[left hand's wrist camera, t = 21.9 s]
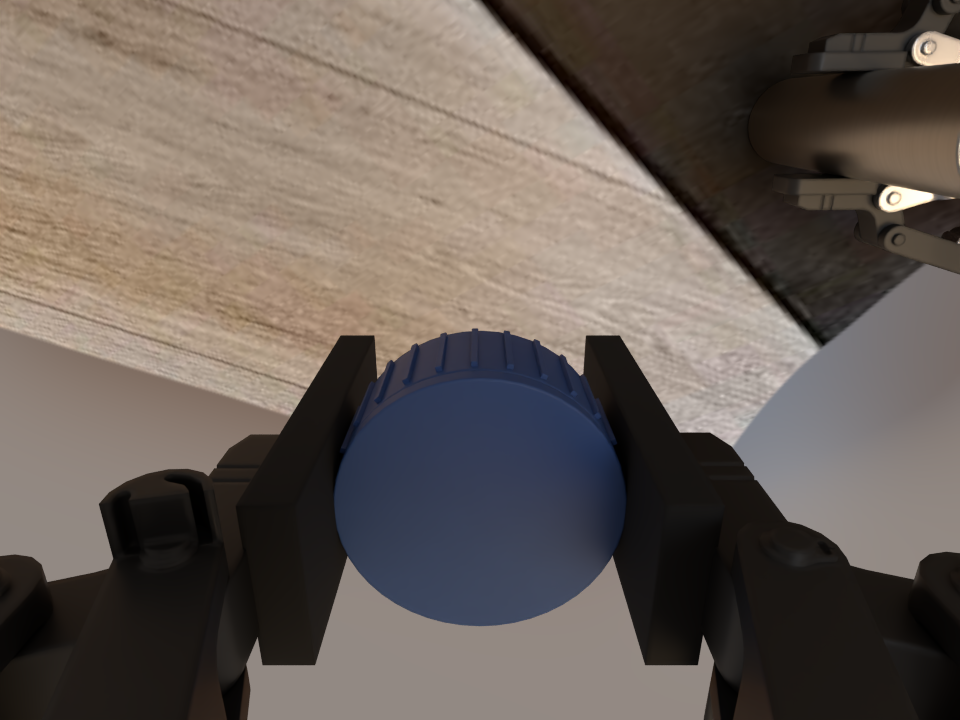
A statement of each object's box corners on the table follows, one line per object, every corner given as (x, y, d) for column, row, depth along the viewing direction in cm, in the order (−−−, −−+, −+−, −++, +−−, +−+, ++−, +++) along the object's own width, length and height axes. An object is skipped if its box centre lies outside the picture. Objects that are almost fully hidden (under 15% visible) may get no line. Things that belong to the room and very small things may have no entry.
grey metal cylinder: (767, 68, 32) (1069, 27, 16) (843, 90, 32) (1215, 73, 16) (734, 152, 33) (978, 195, 17) (807, 172, 34) (1113, 234, 17)
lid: (638, 504, 13) (669, 580, 11) (417, 577, 13) (404, 662, 11) (557, 286, 11) (575, 325, 9) (308, 382, 12) (271, 440, 10)
